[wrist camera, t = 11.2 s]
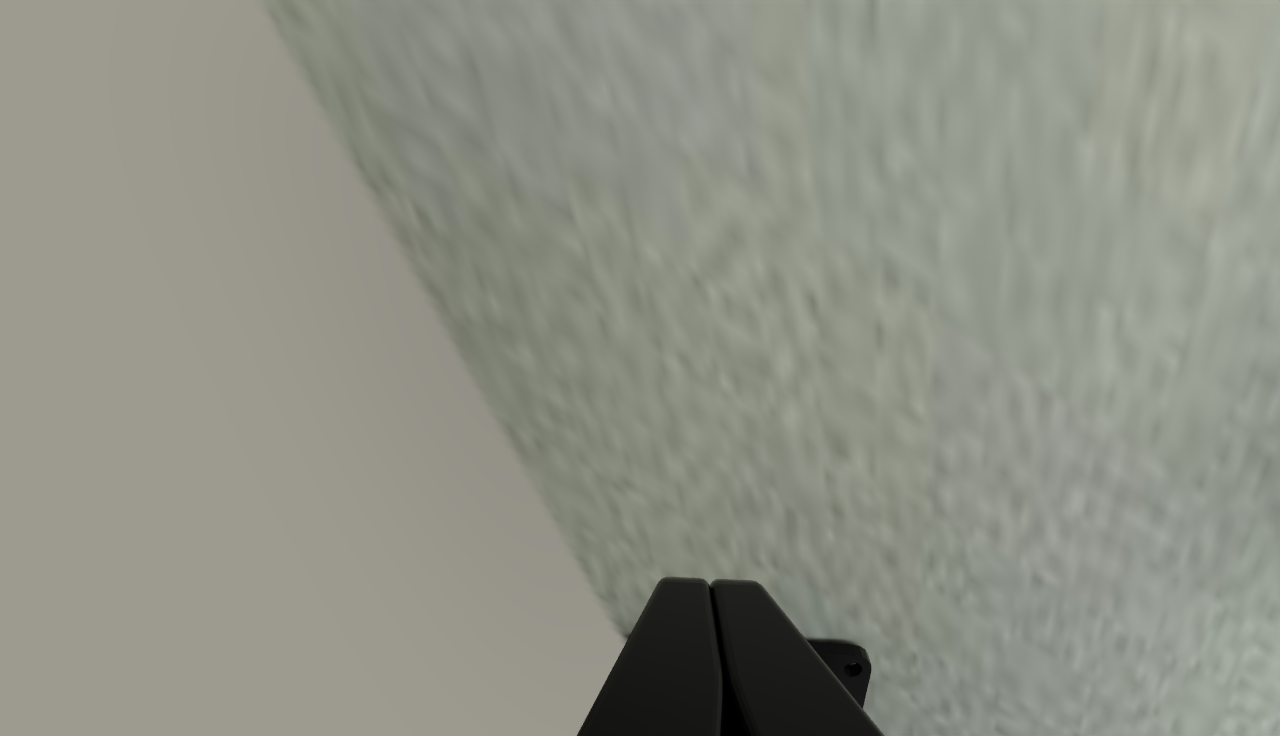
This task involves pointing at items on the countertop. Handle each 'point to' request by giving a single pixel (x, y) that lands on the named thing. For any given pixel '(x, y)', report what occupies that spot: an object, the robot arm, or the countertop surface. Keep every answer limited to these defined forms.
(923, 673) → the countertop surface
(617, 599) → the countertop surface
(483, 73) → the countertop surface
